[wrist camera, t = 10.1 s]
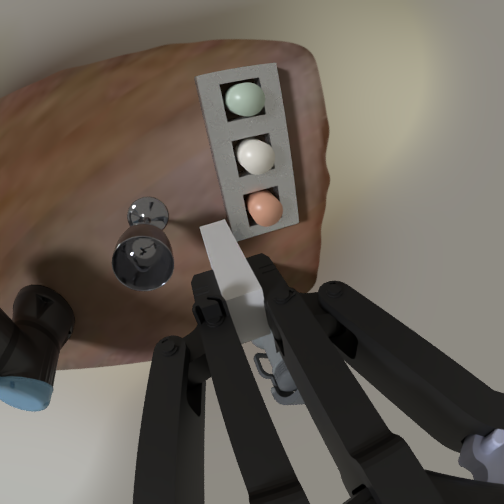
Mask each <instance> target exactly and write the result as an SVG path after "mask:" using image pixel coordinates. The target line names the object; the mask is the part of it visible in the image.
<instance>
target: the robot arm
mask: <svg viewBox="0 0 504 504" xmlns="http://www.w3.org/2000/svg"><path fill="white" fill-rule="evenodd" d="M200 230H201V234H202V237H203V241H204V244H205V247H206V251H207V254H208V257H209V260H210V264H211V267H212V270H209V271H206V272H203V273H200V274H197V275H194V276H193V279H192V282H191V285H192V290H193V295H194V299H195V303H194V305H193V308H192V312H193V314H194V316H195V319H196V321H197V323H198V325H197V327H196V328H195V329H194V330H193V332H191V333H190V334H189V335H187V336H185V337H184V338H181V337H179V336H168V337H165V338H163V339H162V340H160V341H159V342H158V343H157V344H156V346H155V349H154V352H153V357H152V362H151V368H150V374H149V379H148V384H147V390H146V396H145V402H144V408H143V415H142V421H141V429H140V436H139V444H138V452H137V461H136V470H135V482H134V494H133V504H204V427H205V391H206V380H207V379H208V378H210V377H212V380H213V384H214V388H215V391H216V395H217V398H218V402H219V405H220V409H221V412H222V415H223V419H224V422H225V425H226V429H227V432H228V435H229V438H230V441H231V444H232V447H233V450H234V453H235V456H236V459H237V462H238V465H239V468H240V471H241V474H242V477H243V479H244V482H245V485H246V488H247V491H248V494H249V502H250V504H310V503H309V501H308V499H307V497H306V494H305V492H304V490H303V488H302V486H301V484H300V483H299V481H298V479H297V477H296V475H295V473H294V470H293V468H292V466H291V463H290V461H289V459H288V457H287V455H286V452H285V450H284V448H283V446H282V443H281V441H280V439H279V436H278V434H277V432H276V429H275V427H274V424H273V422H272V420H271V417H270V415H269V413H268V410H267V408H266V405H265V403H264V400H263V398H262V396H261V393H260V391H259V389H258V386H257V383H256V381H255V378H254V376H253V373H252V371H251V368H250V365H249V363H248V360H247V358H246V355H245V353H244V350H243V347H242V345H241V344H243V343H246V342H249V341H252V340H255V339H257V338H260V337H263V336H266V335H269V334H271V332H272V334H273V336H274V342H275V347H276V352H277V353H278V352H280V355H281V357H282V359H283V361H284V363H285V365H286V367H287V369H288V371H289V373H290V375H291V377H292V379H293V381H294V383H295V385H296V387H297V389H298V391H299V393H300V395H301V397H302V399H303V401H304V403H305V405H306V407H307V408H308V411H309V413H310V415H311V417H312V419H313V420H314V423H315V424H316V426H317V428H318V430H319V432H320V434H321V436H322V438H323V440H324V442H325V444H326V446H327V448H328V450H329V452H330V454H331V455H332V457H333V459H334V461H335V463H336V465H337V467H338V469H339V471H340V474H341V478H342V481H343V483H344V485H345V487H346V489H347V491H348V493H349V495H350V497H351V498H349V499H348V500H347V501H346V502H344V503H343V504H504V393H501V392H497V391H494V390H492V389H491V388H490V387H488V386H487V385H486V384H485V383H483V382H482V381H481V380H479V379H478V378H476V377H475V376H474V375H473V374H471V373H470V372H469V371H467V370H466V369H465V368H463V367H462V366H461V365H459V364H458V363H456V362H455V361H454V360H453V359H451V358H450V357H448V356H447V355H445V354H444V353H443V352H442V351H440V350H439V349H438V348H436V347H435V346H433V345H432V344H431V343H429V342H428V341H427V340H425V339H424V338H422V337H421V336H420V335H418V334H417V333H415V332H414V331H413V330H411V329H409V328H408V327H407V326H405V325H404V324H403V323H401V322H400V321H399V320H397V319H396V318H394V317H393V316H392V315H390V314H389V313H387V312H386V311H384V310H383V309H382V308H380V307H379V306H377V305H376V304H374V303H373V302H372V301H370V300H369V299H367V298H366V297H364V296H363V295H361V294H360V293H359V292H357V291H356V290H354V289H353V288H351V287H350V286H348V285H347V284H345V283H343V282H340V281H329V282H326V283H324V284H323V285H322V286H320V288H319V291H318V292H315V293H298V292H297V291H296V290H295V289H293V288H290V287H289V286H288V285H287V283H286V282H285V280H284V279H283V277H282V276H281V274H280V273H279V271H278V270H277V268H276V267H275V265H274V264H273V262H272V261H271V259H270V258H269V257H268V256H266V255H264V254H262V253H261V254H258V255H254V256H251V257H248V258H245V256H244V254H243V252H242V251H241V249H240V247H239V245H238V243H237V241H236V239H235V238H234V236H233V234H232V232H231V230H230V228H229V226H228V224H227V223H226V221H225V219H224V220H221V221H217V222H214V223H211V224H207V225H204V226H201V227H200ZM74 323H75V319H74V314H73V311H72V309H71V307H70V306H69V304H68V303H67V302H66V301H65V300H64V299H63V298H62V297H61V296H60V295H59V294H58V293H56V292H55V291H53V290H51V289H49V288H46V287H44V286H39V285H29V286H26V287H24V288H22V289H21V290H20V291H19V293H18V294H17V296H16V298H15V301H14V304H13V318H12V320H11V319H10V318H9V317H8V316H7V315H6V313H5V312H4V311H3V310H2V309H1V308H0V400H2V401H3V402H5V403H6V404H8V405H10V406H13V407H15V408H18V409H21V410H26V411H41V410H44V409H46V408H47V406H48V405H49V403H50V399H51V395H52V392H53V384H54V378H55V373H56V367H57V362H58V357H59V353H60V350H61V348H62V347H63V346H64V344H65V343H66V342H67V340H68V339H69V338H70V336H71V334H72V332H73V328H74ZM270 330H271V332H270ZM344 360H345V361H346V362H347V363H348V364H349V365H350V366H351V367H352V368H354V369H355V370H356V371H357V372H358V373H359V374H360V375H361V376H363V377H364V378H365V379H366V380H367V381H368V382H369V383H371V384H372V385H373V386H374V387H375V388H376V389H377V390H379V391H380V392H381V393H382V394H383V395H384V396H385V397H386V398H388V399H389V400H390V401H391V402H392V403H393V404H395V405H396V406H397V407H398V408H399V409H400V410H402V411H403V412H404V413H405V414H406V415H407V416H408V417H410V418H411V419H412V420H413V421H414V422H415V423H417V424H418V425H419V426H420V427H421V428H422V429H424V430H425V431H426V432H427V433H428V434H430V435H431V436H432V437H433V438H434V439H436V440H437V441H438V442H440V443H441V444H442V445H444V446H446V447H447V448H449V449H451V450H453V451H456V452H459V453H460V457H459V460H458V462H459V465H460V466H461V467H464V468H466V469H467V470H469V471H470V472H471V473H472V475H473V478H474V480H471V479H465V478H459V477H455V476H450V475H446V474H441V473H437V472H433V471H429V470H424V469H423V467H422V466H421V464H420V463H419V461H418V459H417V458H416V456H415V455H414V453H413V452H412V450H411V449H410V447H409V446H408V444H407V443H406V442H405V440H404V439H403V438H402V437H400V436H399V435H396V434H393V433H392V432H391V431H390V430H389V429H388V427H387V426H386V424H385V423H384V421H383V420H382V418H381V416H380V415H379V413H378V412H377V410H376V409H375V408H374V406H373V404H372V403H371V401H370V400H369V398H368V396H367V395H366V393H365V392H364V390H363V389H362V387H361V386H360V384H359V383H358V381H357V380H356V378H355V377H354V375H353V374H352V372H351V371H350V369H349V368H348V366H347V365H346V363H345V362H344Z"/></svg>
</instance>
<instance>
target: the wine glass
mask: <svg viewBox="0 0 504 504" xmlns="http://www.w3.org/2000/svg"><path fill="white" fill-rule="evenodd" d="M127 219H128V223H129V225H130V227H129V228H128V229H127V230H126V231H125V232H124V233H123V234H122V235H121V237H120V238H119V240H118V242H117V244H116V247H115V250H114V253H113V257H112V269H113V272H114V274H115V276H116V277H117V279H118V280H119V281H120V282H121V283H122V284H123V285H125V286H126V287H128V288H130V289H133V290H137V291H151V290H155V289H157V288H159V287H161V286H163V285H164V284H165V283H166V282H167V281H168V280H169V279H170V277H171V275H172V273H173V269H174V257H173V251H172V247H171V244H170V241H169V239H168V237H167V236H166V234H165V233H164V232H163V229H164V228H165V226H166V224H167V222H168V211H167V208H166V206H165V205H164V204H163V203H162V202H161V201H160V200H158V199H156V198H153V197H143V198H140V199H138V200H136V201H135V202H133V204H132V205H131V206H130V208H129V210H128V214H127Z"/></svg>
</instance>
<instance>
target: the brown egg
mask: <svg viewBox="0 0 504 504" xmlns="http://www.w3.org/2000/svg"><path fill="white" fill-rule="evenodd" d="M245 206H246V209H247V210H248V212H249V213H250V214H251V216H252V217H253V219H254V220H255V222H256V223H257V224H259V225H260V226H264V227H268V226H272V225H274V224H276V223H277V222H278V221H279V220H280V218H281V217H282V214H283V207H282V204H281V203H280V201H279V200H278V199H277V198H276V197H275V196H274V195H272V194H271V193H270V192H269V191H268V190H267V189H263V190H259V191H255V192H252V193H248V195H247V196H246V199H245Z"/></svg>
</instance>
